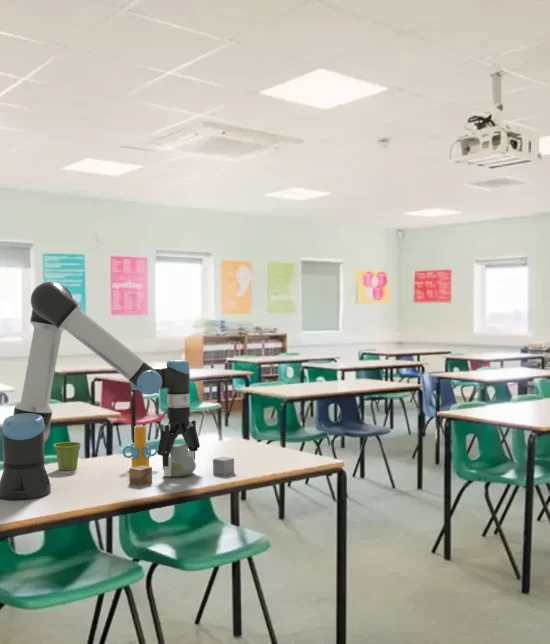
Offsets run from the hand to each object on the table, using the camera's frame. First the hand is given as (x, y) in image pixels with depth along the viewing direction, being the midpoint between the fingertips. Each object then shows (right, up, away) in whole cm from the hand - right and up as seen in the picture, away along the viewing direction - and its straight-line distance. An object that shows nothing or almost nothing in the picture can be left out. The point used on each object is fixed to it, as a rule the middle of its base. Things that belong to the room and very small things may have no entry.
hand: (179, 472), depth 235 cm
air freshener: (0, -1, 0) cm, 1 cm away
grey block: (+15, -1, +2) cm, 15 cm away
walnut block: (-11, -1, -11) cm, 15 cm away
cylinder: (-15, -1, +9) cm, 17 cm away
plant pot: (-41, -1, +11) cm, 42 cm away
